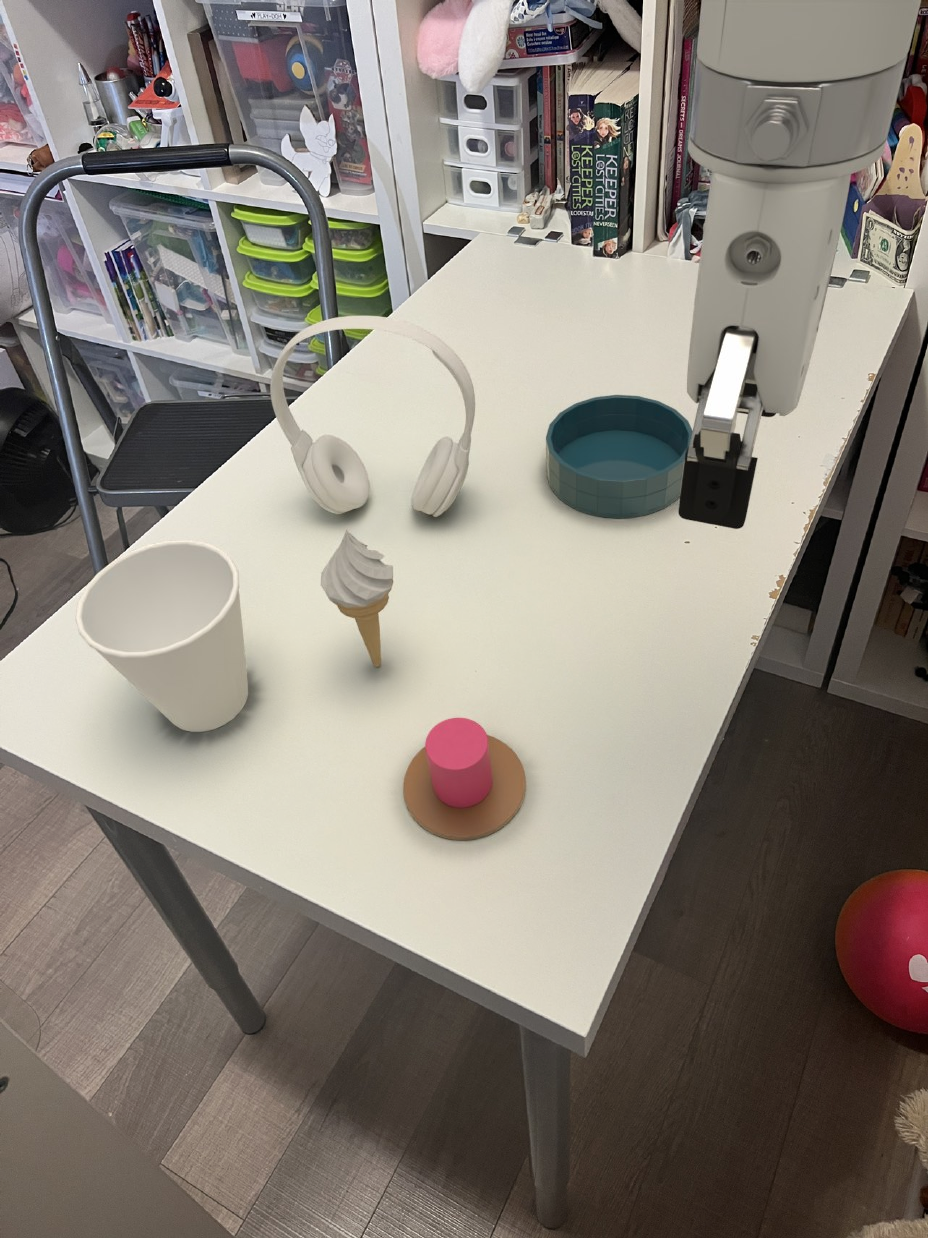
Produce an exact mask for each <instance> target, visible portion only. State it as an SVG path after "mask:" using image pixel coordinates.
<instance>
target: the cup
mask: <svg viewBox="0 0 928 1238" xmlns="http://www.w3.org/2000/svg"><path fill="white" fill-rule="evenodd" d="M241 608H242V607H241V598H240V574H239V570H238V568H237V566H236V564H235V562H234V560H233V558H232V557H230V555H228V553H226V552H224V551H223V550H222V549H221V548H219V547H216V546H214V545H212V544H210V543H208V542H203V541H197V540H191V539H175V540H173V539H171V540H165V541H159V542H156V543H155V542H154V543H150V544H147V545H144V546H142V547H138V548H135V549H133V550H131V551H129V552H127V553H125V554H123V555H121V556H120V557H117V558H116V559H114V560H112V561H111V562H110V563H109V564H108V565H106V566H105V567H104V568H102V569H101V570H100V571H98V572H97V573H96V574H95V576H93V578H92V579H91V580H90V581H89V582H88V584H87V585H85V588H84V589H83V591H82V593H81V596H80V597H79V599H78V601H77V603H76V610H75V617H74V618H75V619H74V620H75V623H76V627H77V631H78V634H79V635H80V637H81V638H82V639H83V641H84V642H85V643H86V644H87V646H89V647H90V648H92V649H93V650H95V651H96V652H97V653H98V654H99V655H100V656H101V657H102V658H103V659H105V661H107V663H109V665H110V666H112V667H113V668H114V669H115V670H116V671H117V672H118V673H119V674H120V675H121V676H122V677H123V678H124V679H125V680H126V681H127V682H129V684H130V685H132V687H133V688H135V689H136V690H137V691H138V692H139V693H140V694H141V695H142V696H143V697H144V698H146V700H148V702H149V703H151V704H152V705H153V707H154V708H156V709H157V710H158V711H159V712H160V713H161V714H162V715H163V716H164V717H165V718H167V719H168V720H169V721H170V723H172V724H173V726H175V727H177V728H179V729H180V730H182V731H186V732H191V733H204V732H208V731H212V730H216V729H218V728H220V727H222V726H225V725H226V724H228V723H230V722H231V721H232V720H234V719H235V718H236V716H238V715H239V714H240V713H241V712H242V710H243V708H244V707H245V706H246V704H247V701H248V697H249V682H248V669H247V660H246V649H245V639H244V638H245V637H244V630H243V629H244V628H243V619H242V609H241Z"/></svg>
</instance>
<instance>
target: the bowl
mask: <svg viewBox="0 0 928 1238" xmlns="http://www.w3.org/2000/svg"><path fill="white" fill-rule="evenodd" d="M692 431H693V427H692V426H691V424H690V422H689V420H688V419H687V418H686V417H685V416H683V414H681V413H680V412H679V411H678V410H677V409H676V408H673V407H672V406H669V405H668V404H665V403H663V402H662V401H660V400H656V399H652V398H649V397H644V396H639V395H628V394H611V395H602V396H595V397H594V396H593V397H591V398H588V399H585V400H581V401H578V402H576V403H574V404H572V405H570V406H568V407H567V408H565V409H563V410H562V411H560V412H559V413H558V414H557V415H556V416H555V418H554V419H552V421H551V422H550V423H549V424H548V429H547V432H546V435H545V460H546V462H545V466H546V467H545V468H546V470H545V471H546V475H547V482H548V485H549V487H550V489H551V491H552V492H553V494H554V495H555V496H556V497H557V498H558V499H559V500H560V501H561V502H562V503H564V504H565V505H567V506H568V507H570V508H572V509H573V510H576V511H578V512H581V513H584V514H586V515H589V516H594V517H598V518H599V517H600V518H604V519H605V518H606V519H629V518H630V519H631V518H638V517H642V516H647V515H650V514H651V515H652V514H654V513H657V512H659V511H661V510H663V509H665V508H667V507H668V506H670V505H672V504H673V503H674V502H675V501H677V500H678V499H680V494H681V486H682V478H683V470H684V462H685V453H686V450H687V448H688V447H689V445H690V440H691V436H692Z"/></svg>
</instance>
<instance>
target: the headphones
mask: <svg viewBox="0 0 928 1238" xmlns="http://www.w3.org/2000/svg"><path fill="white" fill-rule="evenodd" d="M357 329H358V330H373V331H374V330H376V331H381V332H382V331H383V332H387V333H391V334H396V335H399V336H402V337H406V338H408V339H411V340H413V341H415V342H418V343H419V344H422V345H423V346H425V347H427V348H428V349H430V350H431V351H432V355H433V356H434V357H435V358H436V359H437V360H438V361H439V362H440V363H441V364H442V365H443V366H444V367H445V368H446V369H447V371H449V373H450V374H451V376H452V377H453V379H454V380H455V382H456V384H457V385H458V388H459V389H460V392H461V395H462V398H463V402H464V409H465V423H464V429H463V433H462V434H461V436H460V438H459V439H458V442H456V441H453V439H452V437H449V436H443V437H441V438H440V439H439V440H437V442H436V443H435V444H434V446H433V447H432V449H431V450H430V452H429V453H428V456H427V458H426V459H425V462H424V464H423V465H422V468H421V470H420V473H419V474H418V477H417V480H416V482H415V485H414V487H413V489H412V490H413V491H412V494H411V499H410V506H411V507H412V509H413V510H415V511H419V512H420V511H421V513H424V514H426V515H432V517H434V518H437V517H439V516H441V515H442V514H443V513H444V512H446V511H447V510H448V509H449V508H450V507H451V506H452V504H453V503H454V501H456V498H457V496H458V495H459V493H460V491H461V489H462V487H463V484H464V483H465V480H466V478H467V474H468V470H469V465H470V451H471V445H472V436H471V435H472V431H473V428H474V427H473V426H474V422H475V416H476V415H475V414H476V393H475V388H474V383H473V380H472V378H471V375H470V373H469V370H468V369H467V366H466V365H465V363H464V362H463V360H462V359H461V357H460V356H459V355H458V354H457V352H456V351H455V350H454V349H453V348H452V347H451V346H449V344H448V343H446V342H445V341H443V340H442V339H441V338H440V337H439V336H437V335H435V334H433V333H432V332H431V331H428V330H427V329H424V328H422V327H421V326H418V325H416V324H414V323H411V322H407V321H404V320H401V319H397V318H393V317H386V316H379V315H378V316H377V315H347V316H337V317H333V318H328V319H325V320H321V321H319V322H318V321H317V322H316V323H314V324H311V325H309V326H307V327H306V328H303V329H302V330H301V331H299V332H298V333H297V334H295V335H294V336H293V337H292V338H291V339H290V340H289V341H288V342H287V343H286V344H285V346H284V348H283V349H282V350H281V352H280V353H279V355H278V357H277V360H276V362H275V364H274V367H273V369H272V373H271V376H270V384H269V385H270V386H269V387H270V389H269V390H270V391H269V392H270V400H271V406H272V408H273V412H274V415H275V418H276V421H277V423H278V424H279V426H280V428H281V430H282V432H283V434H284V436H285V437H286V439H287V441H288V442H289V444H290V450H291V454H292V457H293V461H294V463H295V465H296V468H297V470H298V473H299V474H300V477H301V479H302V482H303V484H304V486H305V488H306V489H307V491H308V493H309V494H310V496H311V498H313V500H314V501H315V502H316V503H317V504H318V505H319V506H320V507H321V508H322V509H324V510H326V512H329V513H332V514H336V515H340V514H341V515H342V514H345V513H346V512H350V511H352V510H354V509H359V508H361V507H363V506H364V505H365V504H366V503H367V501H368V499H369V496H370V491H371V485H370V479H369V474H368V471H367V468H366V467H365V464H364V462H363V461H362V459H361V458H360V455H359V454H358V453H357V452H356V451H355V450H354V448H353V447H352V446H351V445H350V444H348V443H347V441H344V440H343V439H342V438H339V437H338V436H334V435H331V434H323V435H321V436H319V437H318V438H317V439H315V441H314V442H313V438H312V437H311V435H310V434H309V433H308V432H307V431H305V430H304V429H302V430H301V428H300V426H299V424H298V423H297V421H296V419H295V417H294V416H293V414H292V412H291V409H290V407H289V404H288V401H287V398H286V395H285V394H286V393H285V389H284V372H285V368H286V364H287V361H288V360H289V358H290V357H291V356H292V354H293V353H294V351H295V348H296V346H297V345H298V344H299V343H300V342H302V341H305V340H306V339H308V338H310V337H313V336H316V335H319V334H322V333H326V332H330V331H336V330H337V331H338V330H339V331H340V330H357Z"/></svg>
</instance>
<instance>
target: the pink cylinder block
mask: <svg viewBox="0 0 928 1238" xmlns="http://www.w3.org/2000/svg"><path fill="white" fill-rule="evenodd" d="M487 735H488V734H487V731H486V730H485V729H484V727H483V726H482V725H481V724H479V723H478V722H476V721H474V720H472V719H470V718H467V717H451V718H448V719H444V720H442V721H441V722H438V723H437V724H436V725H434V727H432V728H431V729H430V731H429V732H428V734H427V736H426V739H425V743H424V747H425V749H426V754H427V759H428V764H429V769H430V774H431V779H432V784H433V789H434V792H435V794H436V796H437V797H438V798H439V799H440V800H441V801H442V802H443V803H445V804H447V805H449V806H452V807H457V808H465V807H470V806H473V805H476V804H478V803H479V802H481V801H482V800H483V799H484V798H485V797H486V796H487V795H488V793H489V792H490V790H491V787H492V771H491V762H490V753H489V744H488V737H487Z"/></svg>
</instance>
